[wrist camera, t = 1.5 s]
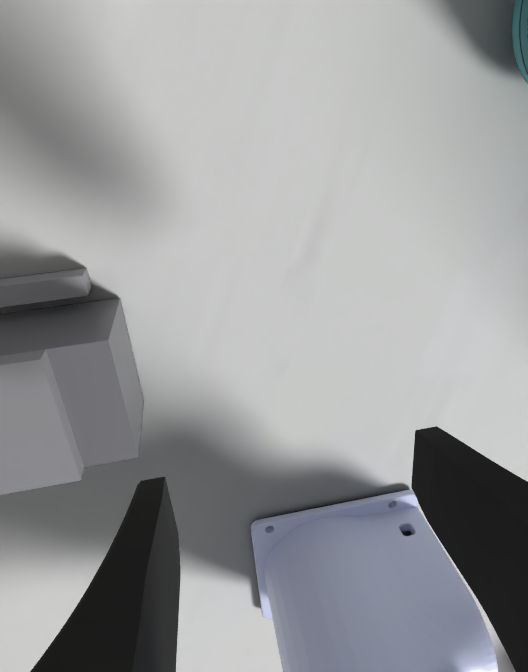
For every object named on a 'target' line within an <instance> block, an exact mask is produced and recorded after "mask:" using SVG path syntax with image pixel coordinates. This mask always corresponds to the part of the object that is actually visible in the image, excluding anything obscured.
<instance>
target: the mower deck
mask: <svg viewBox="0 0 528 672" xmlns="http://www.w3.org/2000/svg"><path fill="white" fill-rule="evenodd" d="M90 289H91V283H90V279H89V275H88V271H87V268H82V269H74V270H66V271H58V272H51V273H43V274H35V275H28V276H20V277H12V278H4V279H0V308H1V307H8V306H15V305H23V304H30V303H37V302H45V301H52V300H59V299H67V298H74V297H82V296H88V294H89V292H90Z"/></svg>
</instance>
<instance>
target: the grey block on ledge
mask: <svg viewBox="0 0 528 672" xmlns="http://www.w3.org/2000/svg"><path fill="white" fill-rule="evenodd" d="M143 406H144V398H143V394H142V389H141V385H140V381H139V376H138V372H137V368H136V364H135V359H134V355H133V351H132V346H131V342H130V338H129V334H128V329H127V325H126V321H125V316H124V312H123V308H122V304H121V299H120V298H116V299H109V300H101V301H94V302H87V303H80V304H72V305H65V306H58V307H50V308H43V309H36V310H29V311H21V312H14V313H7V314H0V495H4V494H9V493H15V492H20V491H26V490H31V489H37V488H42V487H48V486H53V485H59V484H64V483H70V482H75V481H81V478H82V474H83V470H84V467H90V466H95V465H101V464H106V463H112V462H118V461H123V460H129V459H134V458H138V457H139V447H140V437H141V427H142V416H143Z"/></svg>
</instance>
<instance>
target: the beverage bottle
mask: <svg viewBox="0 0 528 672" xmlns="http://www.w3.org/2000/svg"><path fill="white" fill-rule="evenodd" d="M512 40H513V49H514V54H515V58H516V62H517V64H518V67H519V70H520V72H521V74H522V76H523V78H524V79H525V81H526V82H527V83H528V0H516V1H515V6H514V12H513V21H512Z"/></svg>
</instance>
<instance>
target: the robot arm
mask: <svg viewBox="0 0 528 672" xmlns="http://www.w3.org/2000/svg"><path fill="white" fill-rule="evenodd" d="M412 489H413V491H412V490H405V491H400V492H395V493H390V494H385V495H380V496H375V497H370V498H365V499H360V500H355V501H350V502H345V503H340V504H335V505H330V506H325V507H320V508H315V509H310V510H305V511H300V512H295V513H290V514H285V515H280V516H275V517H270V518H265V519H260V520H256V521H255V522H253V523H252V525H251V536H252V543H253V551H254V558H255V566H256V573H257V581H258V588H259V596H260V603H261V611H262V615H263V617H264V618H266V619H272V618H273V623H274V628H275V633H276V638H277V643H278V648H279V653H280V658H281V663H282V668H283V672H498V665H497V659H496V655H495V651H494V647H493V644H492V641H491V638H490V635H489V632H488V630H487V627H486V625H485V622H484V620H483V617H482V615H481V613H480V611H479V609H478V607H477V605H476V603H475V601H474V599H473V597H472V595H471V594H470V592H469V590H468V589H467V587H466V585H465V584H464V582H463V580H462V579H461V577H460V576H459V574H458V572H457V571H456V569H455V568H454V566H453V564H452V563H451V561H450V559H449V558H448V556H447V555H446V553H445V551H444V550H443V548H442V547H441V545H440V543H439V542H438V540H437V538H436V537H435V535H434V534H433V532H432V530H431V529H430V527H429V526H428V524H427V522H426V521H425V519H424V517H423V516H422V514H421V513H420V511H419V509H418V508H417V501H418V502H419V504H420V507H421V509H422V511H423V513H424V515H425V517H426V519H427V521H428V522H429V524H430V526H431V527H432V529H433V530H434V532H435V534H436V535H437V537H438V538H439V540H440V541H441V543H442V545H443V546H444V548H445V549H446V551H447V552H448V554H449V555H450V557H451V559H452V560H453V562H454V563H455V565H456V566H457V568H458V569H459V571H460V572H461V574H462V576H463V577H464V579H465V580H466V582H467V583H468V585H469V586H470V588H471V589H472V591H473V593H474V594H475V596H476V597H477V599H478V601H479V602H480V604H481V606H482V607H483V609H484V611H485V612H486V614H487V616H488V618H489V620H490V622H491V624H492V625H493V627H494V629H495V631H496V633H497V635H498V637H499V639H500V641H501V643H502V645H503V646H504V648H505V650H506V652H507V654H508V656H509V658H510V660H511V662H512V664H513V666H514V668H515V670H516V672H528V482H527V481H525V480H523V479H522V478H520V477H518V476H516V475H515V474H513V473H511V472H510V471H508V470H506V469H505V468H503V467H501V466H500V465H498V464H496V463H495V462H493V461H491V460H490V459H488V458H486V457H485V456H483V455H482V454H480V453H478V452H477V451H475V450H474V449H472V448H471V447H469V446H467V445H466V444H464V443H463V442H461V441H459V440H458V439H456V438H455V437H453V436H451V435H450V434H448V433H447V432H445V431H443V430H442V429H440V428H438V427H431V428H426V429H420V430H416V431H415V445H414V459H413V473H412ZM390 502H391V503H390ZM268 526H271V527H268ZM179 592H180V556H179V539H178V531H177V526H176V522H175V518H174V513H173V509H172V505H171V500H170V496H169V492H168V487H167V483H166V479H165V477H160V478H155V479H150V480H144V481H141V482H140V483H139V484H138V485H137V488H136V491H135V493H134V496H133V499H132V501H131V504H130V506H129V508H128V511H127V513H126V515H125V517H124V520H123V522H122V524H121V526H120V528H119V530H118V532H117V534H116V537H115V539H114V541H113V543H112V545H111V547H110V549H109V551H108V553H107V555H106V556H105V558H104V560H103V562H102V564H101V566H100V567H99V569H98V571H97V573H96V574H95V576H94V578H93V580H92V582H91V583H90V585H89V587H88V589H87V590H86V592H85V594H84V595H83V597H82V598H81V600H80V602H79V603H78V605H77V606H76V608H75V610H74V611H73V613H72V614H71V616H70V617H69V619H68V620H67V622H66V623H65V625H64V626H63V628H62V629H61V631H60V632H59V633H58V635H57V636H56V638H55V639H54V640H53V642H52V643H51V645H50V646H49V647H48V649H47V650H46V652H45V653H44V654H43V656H42V657H41V658H40V660H39V661H38V662H37V664H36V665H35V666H34V668H33V669H32V670H31V672H176V652H177V632H178V613H179Z"/></svg>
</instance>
